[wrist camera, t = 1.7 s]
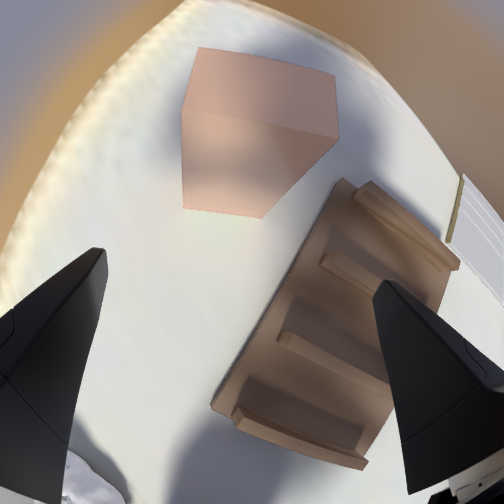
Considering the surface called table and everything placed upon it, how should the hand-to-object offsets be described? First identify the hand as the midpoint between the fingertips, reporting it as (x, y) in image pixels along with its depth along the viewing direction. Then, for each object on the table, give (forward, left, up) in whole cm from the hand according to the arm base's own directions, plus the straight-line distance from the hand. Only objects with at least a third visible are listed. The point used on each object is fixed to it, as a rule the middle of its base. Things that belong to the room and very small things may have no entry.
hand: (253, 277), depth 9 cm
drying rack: (+6, -10, -13) cm, 18 cm away
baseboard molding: (+31, -25, -14) cm, 42 cm away
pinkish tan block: (+5, +5, -13) cm, 15 cm away
